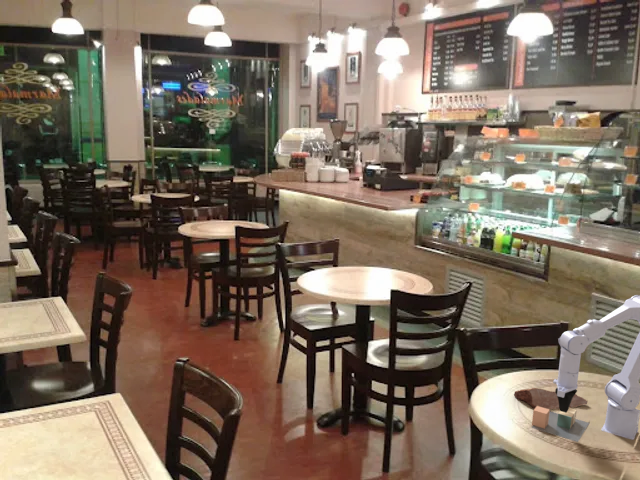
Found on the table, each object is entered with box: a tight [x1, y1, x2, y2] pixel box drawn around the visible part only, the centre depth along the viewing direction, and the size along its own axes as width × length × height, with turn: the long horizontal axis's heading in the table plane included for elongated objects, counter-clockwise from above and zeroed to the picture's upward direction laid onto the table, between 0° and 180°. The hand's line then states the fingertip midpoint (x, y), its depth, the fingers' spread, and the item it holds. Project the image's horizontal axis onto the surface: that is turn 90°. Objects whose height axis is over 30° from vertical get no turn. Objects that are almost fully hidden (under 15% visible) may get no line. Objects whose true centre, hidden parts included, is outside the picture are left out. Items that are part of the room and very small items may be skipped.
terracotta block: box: [531, 406, 551, 429], centre depth 199 cm, size 4×4×5 cm
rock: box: [513, 387, 588, 410], centre depth 217 cm, size 10×24×10 cm
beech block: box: [557, 407, 577, 429], centre depth 201 cm, size 4×4×7 cm
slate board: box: [531, 410, 590, 443], centre depth 200 cm, size 14×16×1 cm
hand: (563, 411), depth 195 cm, fingers closed
